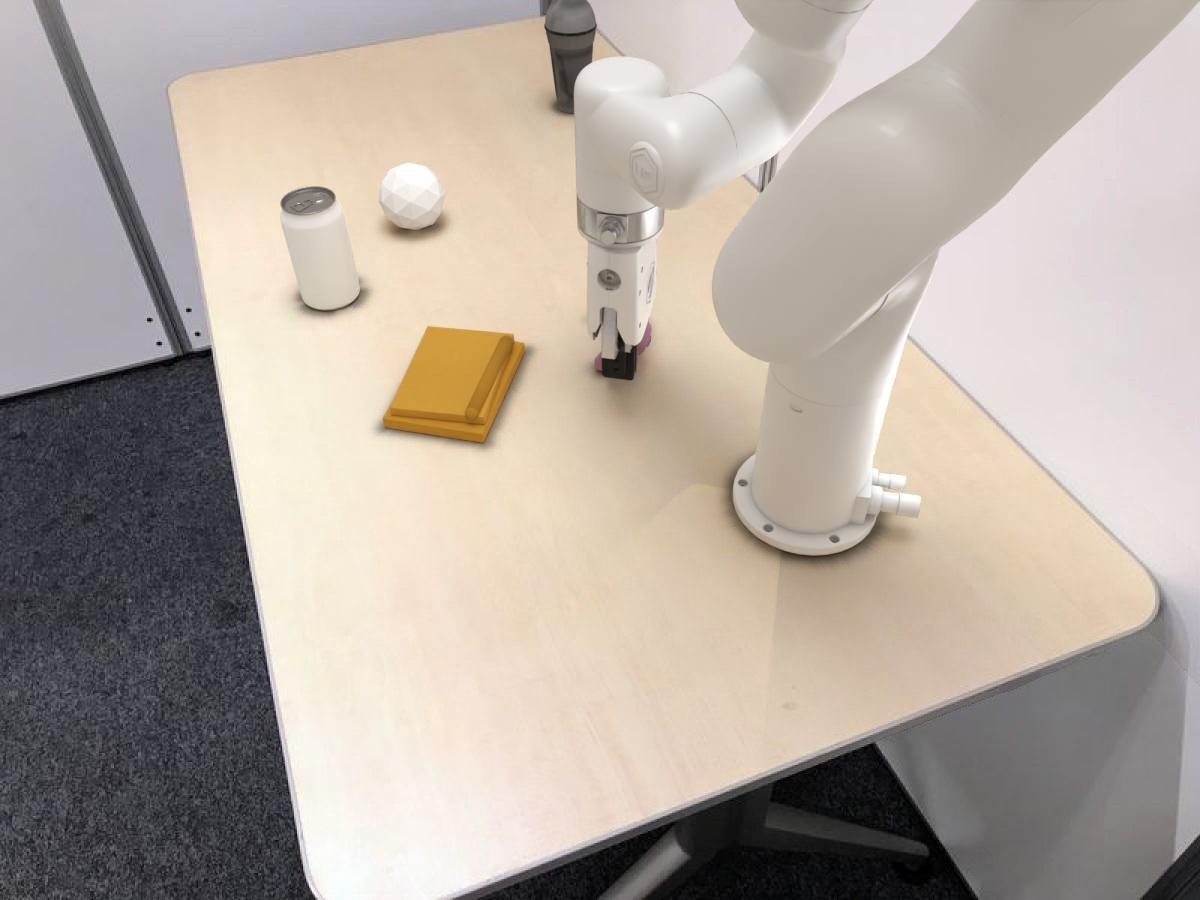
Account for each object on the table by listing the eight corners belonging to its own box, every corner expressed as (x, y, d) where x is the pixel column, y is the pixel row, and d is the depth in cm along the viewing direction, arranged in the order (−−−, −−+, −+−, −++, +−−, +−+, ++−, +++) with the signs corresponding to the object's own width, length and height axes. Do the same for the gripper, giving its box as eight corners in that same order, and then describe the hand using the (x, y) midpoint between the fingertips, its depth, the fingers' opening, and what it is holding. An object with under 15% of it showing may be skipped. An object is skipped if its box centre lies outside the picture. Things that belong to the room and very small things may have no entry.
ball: (428, 234, 122) (454, 176, 120) (427, 247, 115) (455, 185, 112) (371, 207, 120) (397, 147, 117) (366, 218, 112) (393, 155, 110)
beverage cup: (597, 117, 138) (595, -31, 124) (546, 117, 138) (539, -31, 124) (598, 94, 143) (596, -50, 129) (549, 95, 144) (542, -50, 129)
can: (372, 294, 108) (352, 198, 100) (325, 320, 105) (299, 223, 97) (338, 271, 111) (315, 177, 103) (290, 296, 108) (263, 200, 100)
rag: (525, 351, 101) (523, 329, 99) (483, 443, 91) (480, 420, 89) (432, 338, 102) (428, 316, 100) (382, 427, 93) (376, 404, 91)
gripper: (647, 264, 77) (642, 430, 90) (678, 172, 87) (669, 332, 100) (556, 253, 78) (564, 419, 91) (597, 163, 89) (598, 323, 102)
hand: (619, 373), depth 96 cm, fingers closed
